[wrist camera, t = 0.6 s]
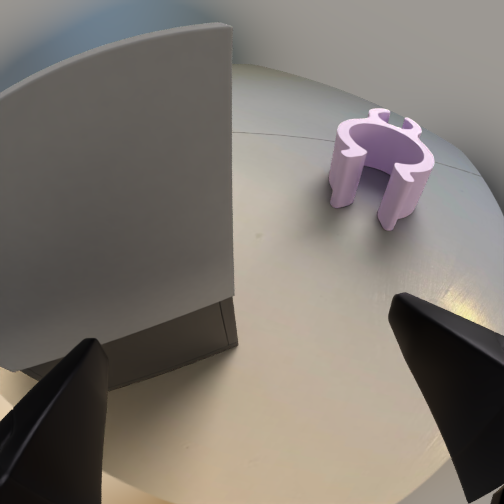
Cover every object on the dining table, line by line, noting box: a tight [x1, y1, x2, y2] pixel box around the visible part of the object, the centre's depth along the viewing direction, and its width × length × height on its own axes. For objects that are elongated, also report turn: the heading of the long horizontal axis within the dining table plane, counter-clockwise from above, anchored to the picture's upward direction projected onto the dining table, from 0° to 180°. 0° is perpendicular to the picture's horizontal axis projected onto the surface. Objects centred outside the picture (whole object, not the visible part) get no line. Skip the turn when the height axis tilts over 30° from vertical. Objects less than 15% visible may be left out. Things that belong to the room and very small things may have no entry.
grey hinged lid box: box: [20, 297, 238, 391], centre depth 20 cm, size 12×15×8 cm
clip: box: [329, 108, 434, 231], centre depth 33 cm, size 20×12×7 cm, turn 148°
